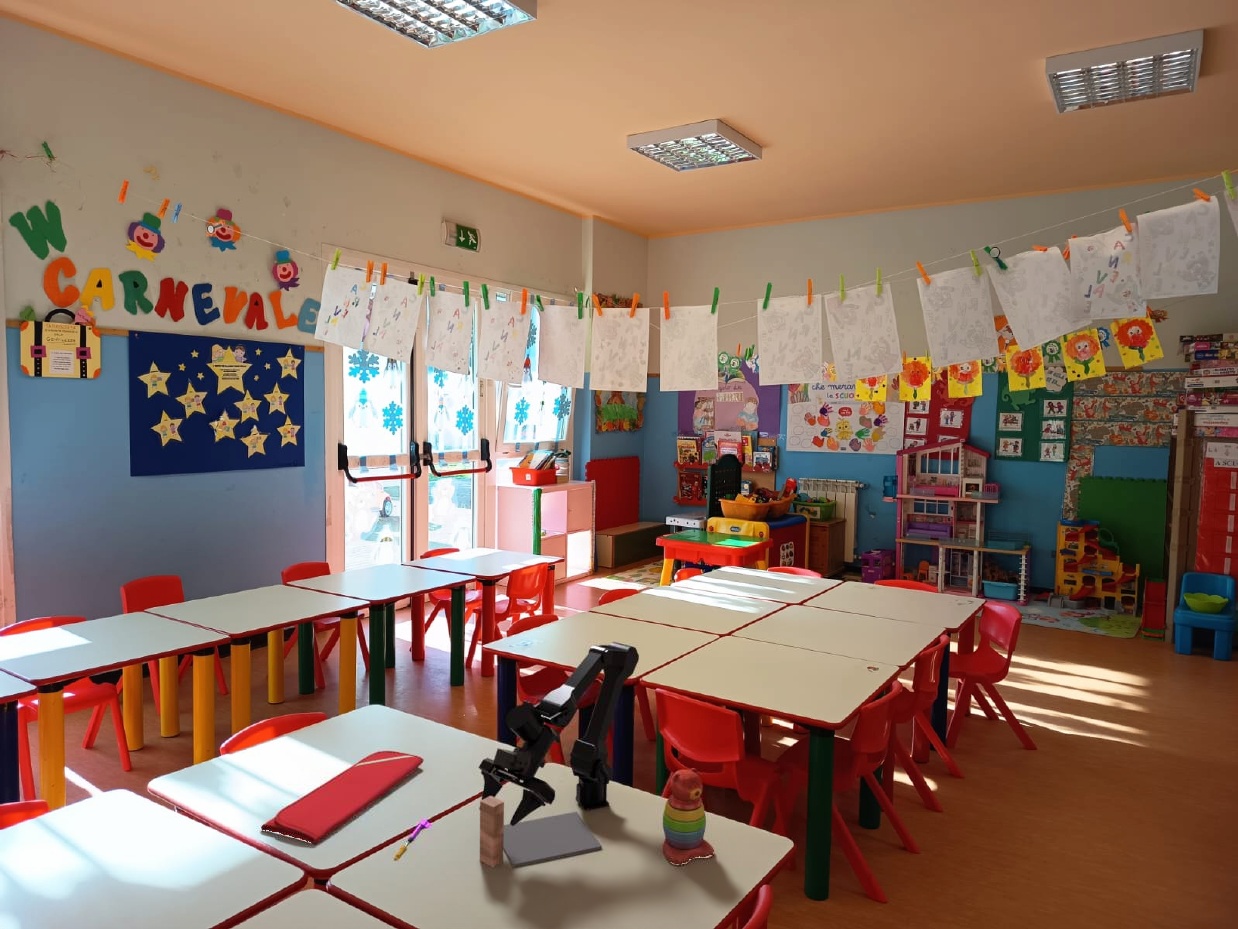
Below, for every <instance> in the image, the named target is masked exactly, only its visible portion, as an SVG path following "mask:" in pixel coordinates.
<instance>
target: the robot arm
mask: <svg viewBox="0 0 1238 929" xmlns="http://www.w3.org/2000/svg"><path fill="white" fill-rule="evenodd" d="M639 660H640V655H639V652H638V650H637V647H635V646H631V645H629V644H624V643H621V642H617V641H612V642H610V643H609V644H600V645H596V644H595V645H592V646H591V647H590V648H589V650H588V654H587V655H586V656H585V658H584V659H583V660H582V661H581V662H580V663H579V665H578V666H577V667H576V669H574V671H573V672H572V673H571V674H570V676H569V677H568V678H567V679H566V681H565V682H564V683H563V684H562V685H561V686H560V687H557V688H556V689H554V690H552V691H550V692H549V693H548V694H547V695H546V696H544V698H542V699H541V701H540V702H538V703H536V704H535V705H534V704H533V703H532V702H530V701H528V700H523V702H522V704H520V705H516V706H515V707H513V708H512V709H511V710H509V711H508V713H507V715H506V720H505V721H506V725H507V727H508V728H509V729H510V730H511V732H513V733H514V734H515V735H516V736H517V737H518V738H519V739H520V740H522V741H523V742H522V744H521V746H518V745H517V746H515V747H514V749H513V750H508V749H505V748H504V749H503V748H497V749H496V752H495V756H494V758H493V759H491V758H489V757H486V758H484V759H482V760H481V762H480V764H479V766H478V767H477V768H479V770H481V771H480V774H481V776H483V781H484V782H483V791H482V796H481V800H483V799H485V798H487V797H489V796H492V797H495V798H496V796H497V795H498V794H499V792H500V791H501V790H502V788H503V787H504V786H503V784H501V783H505V782H506V781H507V782H509V783H511V784H513V785H517V786H518V787H520V788H521V787H522V788H523V789H522V798H521V800H520V802H519V804H518V805H517V807H516V809H515V811H514V813H513V815H512V816H511V819H510V822H509V824H510V825H512V826H514V825H515V824H517V823H519V822H522V820H523V819H525V818H526V817H527V816H528V815H530V814H531V813H532V812H534V811H536V810H537V809H540V808H541V807H546V804H549V805H550V806H551V805H552V804H553V802H554V801H555V798H556V790H555V789H554V788H553V787H552V786H551V785H549V783H548V782H546V781H545V780H543V779H540V778H538V777H535V776H536V774H537V772H538V770H539V769H540V768H541V769H543V768H545V766H546V763H545V762H544V760H545V757H546V755H547V753H548V752H549V750H550V748H551V746H552V744H553V743H556V744H560V743H561V738H560V734H559V733H560V731H559V730H558V729H555V728H559V729H561V728H562V729H563V728H566V727H568V726H569V725H570V723H571V722H572V720H573V719H574V717H575V715H576V713H577V711H578V703H579V701H580V699H581V698H582V696H583V695H585V693H586V691H587V690H588V689H589V687H590V686H591V685H592V684H593V683H594V681H595V680H596V679H597V677H598V676H599V675H600V673H601V672H602V671H603V675H604V676H603V679H602V683H601V685H600V686H601V687H600V689H599V693H598V696H597V698H596V701H595V705H594V708H593V711H592V715H591V717H590V720H589V724H588V727H587V730H586V733H585V734H584V736H583V737H581V739H578V738H577V739H575V741H573V747H572V750H571V752H570V754H569V757H570V759H569V765H570V768H571V770H572V774H573V776H574V777H578V782H577V783H576V788H575V789H576V791H575V793H576V794H575V795H576V796H575V800H576V801H577V803H578V804H579V805H580V806H581V807H582V809H583V810H585V811H587V810H594V809H597V808H603V807H608V806H610V802H609V801H608V800H607V798H608V797H607V796H608V795H607V793H608V787H607V786H608V784H610V781H612V780H613V777H614V773H615V771H614V769H613V768H612V766H610V765H609V764H608V763H607V761H608V757H609V756H608V755H609V752H608V746H607V742H606V741H607V738H608V734H609V732H610V728H611V724H612V722H613V717H614V715H615V711H616V708H617V705H618V702H619V698H620V695H621V691H622V688H623V685H624V683H625V682H626V681H627V680H628V679H629V678H630V677H631V676H632V675H633V674H634V672H635V670H636V667H637V664H638V663H639ZM549 725H550V726H549ZM551 726H553V727H555V728H553V727H552V728H551ZM481 800H480V801H481ZM479 811H480V807H479Z"/></svg>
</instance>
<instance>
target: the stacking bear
mask: <svg viewBox="0 0 1238 929" xmlns="http://www.w3.org/2000/svg"><path fill="white" fill-rule="evenodd" d="M669 785H670V786H669V788H670V791H671V795H670V796H669V797H668V798H667V800H666V802H665V804H664V805H665V806H664V811H663V814H662V829H663V832H664V838H665V839H664V840H663V844H662V854H663V856H664V855H665V856H664V857H665V859H666V858H667V859H668V860H669V861H670V862H672V863H674V864H679V865H681V864H682V863H686V862H688V861H689V859H693V858H695V857H699V856H700V857H706V856H709V855H713V852H714V853H715V848H714V847H713V846H712V844H710V843H709V842H708V841H707V840H706V839H705V838H704V836H705V832H706V828H707V827H706V826H707V825H706V824H707V818H706V812H705V807H704V804H703V799H702V798H701V795H702V793H703V791H704V790H703V789H704V788H703V787H704V785H703V783H702V779H701V778H700V775H698V770H697V768H694V767H693V768H692V767H691V768H690V769H680V770H677V771H676V772H674V773H673V775H672V776H671V778H670V781H669ZM713 856H714V855H713ZM667 859H666V860H667ZM668 860H667V861H668ZM693 860H694V859H693ZM669 861H668V862H669ZM670 862H669V863H670ZM689 862H690V861H689ZM689 862H688V863H689ZM672 863H671V864H672Z"/></svg>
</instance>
